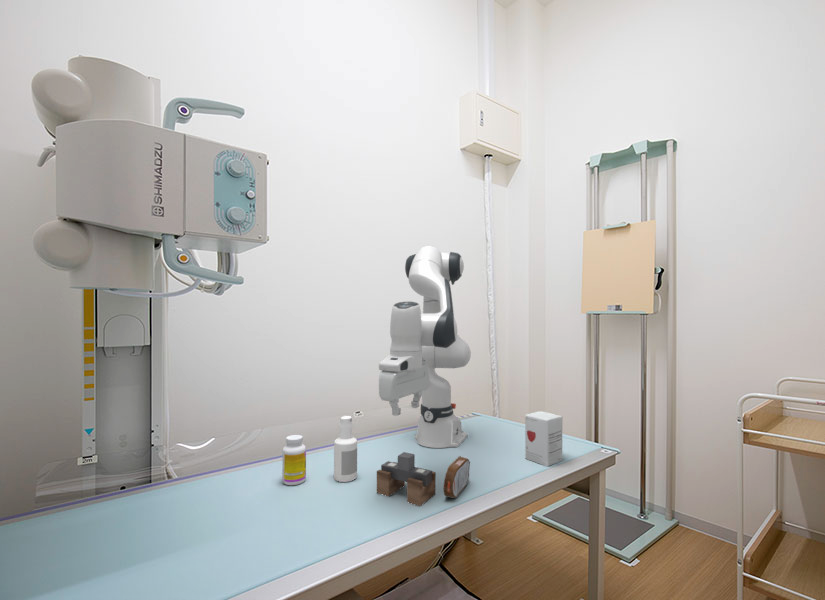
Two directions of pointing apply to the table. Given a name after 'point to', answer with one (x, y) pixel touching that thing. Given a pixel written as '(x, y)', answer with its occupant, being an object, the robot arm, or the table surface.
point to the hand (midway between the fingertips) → (406, 411)
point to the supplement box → (543, 438)
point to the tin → (456, 477)
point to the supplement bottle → (294, 461)
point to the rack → (414, 487)
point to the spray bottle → (345, 452)
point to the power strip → (408, 474)
